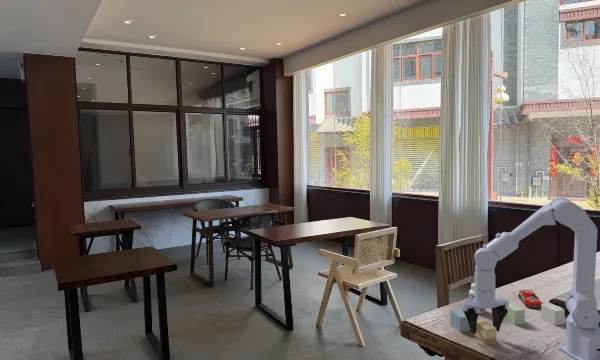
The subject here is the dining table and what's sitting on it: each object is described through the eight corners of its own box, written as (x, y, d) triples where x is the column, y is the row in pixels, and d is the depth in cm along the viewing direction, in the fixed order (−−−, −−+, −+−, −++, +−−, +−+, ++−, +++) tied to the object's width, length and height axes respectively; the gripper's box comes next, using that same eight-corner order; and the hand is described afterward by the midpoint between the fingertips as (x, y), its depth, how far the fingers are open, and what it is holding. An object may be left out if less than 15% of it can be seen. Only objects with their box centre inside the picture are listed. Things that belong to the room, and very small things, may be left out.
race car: (543, 310, 141) (543, 300, 141) (526, 309, 142) (526, 299, 142) (532, 297, 154) (532, 287, 153) (517, 296, 155) (517, 286, 155)
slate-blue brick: (470, 331, 127) (470, 316, 126) (460, 332, 126) (459, 317, 126) (460, 323, 133) (460, 309, 132) (450, 324, 132) (450, 310, 132)
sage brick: (524, 324, 130) (524, 309, 130) (514, 325, 130) (515, 310, 130) (512, 316, 136) (512, 302, 136) (503, 317, 136) (503, 303, 136)
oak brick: (496, 344, 118) (496, 327, 118) (485, 345, 118) (485, 329, 118) (484, 334, 124) (484, 319, 124) (474, 336, 124) (473, 320, 123)
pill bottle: (484, 308, 144) (484, 282, 143) (486, 314, 139) (486, 287, 138) (468, 307, 145) (468, 281, 145) (470, 313, 140) (470, 286, 140)
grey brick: (564, 324, 129) (564, 310, 129) (554, 325, 129) (554, 311, 128) (550, 317, 135) (550, 303, 135) (541, 318, 135) (541, 304, 134)
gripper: (498, 281, 125) (498, 323, 126) (455, 285, 123) (455, 327, 124) (513, 289, 118) (512, 333, 119) (468, 293, 116) (468, 337, 117)
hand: (484, 330), depth 121 cm, fingers open, 7 cm apart
